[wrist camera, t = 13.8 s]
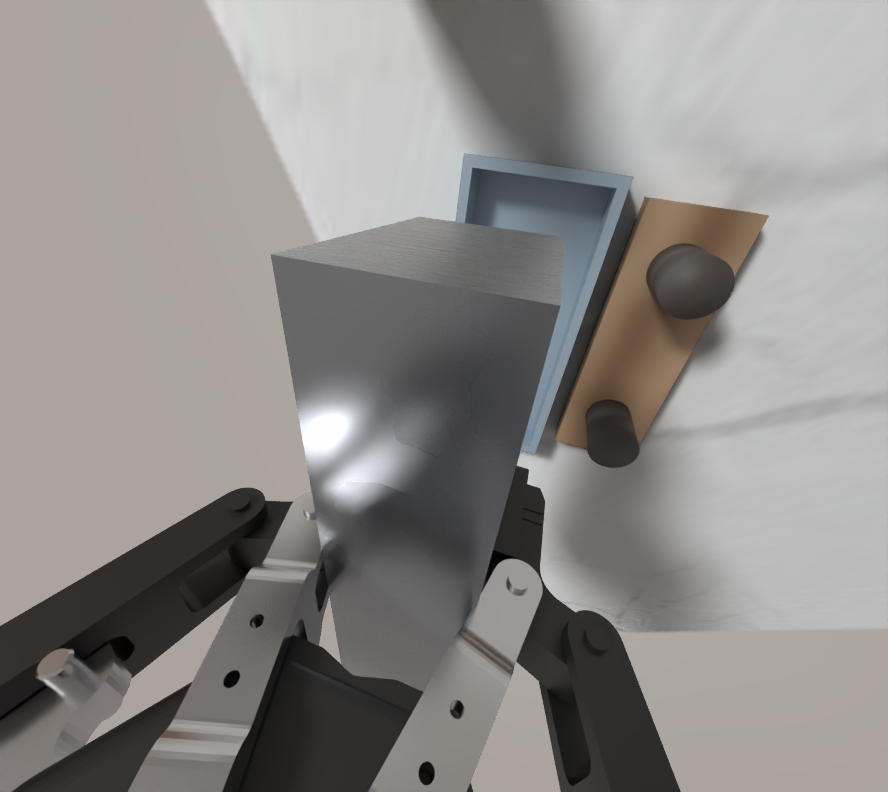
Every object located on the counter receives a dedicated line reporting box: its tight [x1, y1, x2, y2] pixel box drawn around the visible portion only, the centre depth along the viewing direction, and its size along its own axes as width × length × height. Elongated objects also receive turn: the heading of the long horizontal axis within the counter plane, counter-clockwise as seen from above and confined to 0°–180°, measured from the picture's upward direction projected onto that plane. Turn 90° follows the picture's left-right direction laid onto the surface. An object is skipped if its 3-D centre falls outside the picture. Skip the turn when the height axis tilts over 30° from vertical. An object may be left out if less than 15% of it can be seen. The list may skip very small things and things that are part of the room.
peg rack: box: [555, 197, 769, 468], centre depth 23 cm, size 6×18×6 cm, turn 173°
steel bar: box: [271, 217, 566, 692], centre depth 11 cm, size 4×16×6 cm, turn 175°
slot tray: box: [456, 154, 633, 454], centre depth 26 cm, size 9×20×3 cm, turn 173°
